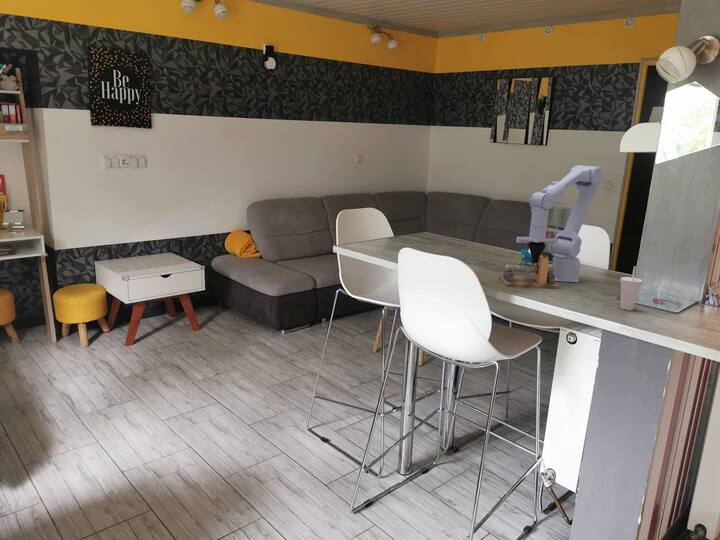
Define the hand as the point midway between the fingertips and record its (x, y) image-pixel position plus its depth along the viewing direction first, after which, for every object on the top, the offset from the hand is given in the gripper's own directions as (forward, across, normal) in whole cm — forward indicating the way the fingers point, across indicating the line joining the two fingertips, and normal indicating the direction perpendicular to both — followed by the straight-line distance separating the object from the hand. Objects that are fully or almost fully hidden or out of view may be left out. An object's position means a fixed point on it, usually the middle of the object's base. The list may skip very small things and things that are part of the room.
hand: (534, 262), depth 204 cm
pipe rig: (+8, +2, 0) cm, 8 cm away
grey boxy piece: (+8, -23, -39) cm, 46 cm away
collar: (+7, -3, 0) cm, 7 cm away
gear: (+8, -9, -30) cm, 33 cm away
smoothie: (+8, -21, +29) cm, 37 cm away
